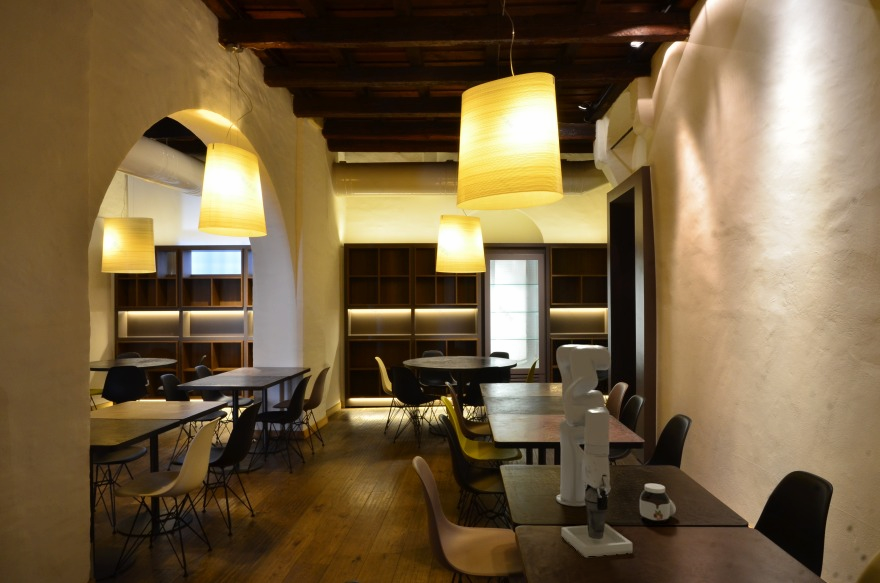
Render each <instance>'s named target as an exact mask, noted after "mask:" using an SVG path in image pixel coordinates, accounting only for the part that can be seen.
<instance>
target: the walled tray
mask: <svg viewBox="0 0 880 583" xmlns="http://www.w3.org/2000/svg"><path fill="white" fill-rule="evenodd" d="M561 536H562V537H563V538H564V540H565V542H567V543H568V542H569V543H570V544H571V545H572V546H573V547H574V548H575V549H576V551H577V550H578V551H579V552H580V553H581V554H582V555H583V556H584V557H585V558H589V557H588V556H596V557H604V556H603V555H607V556H617V555H616V554H618V555H626V553H628V554H633V547H634V546H633V545H634V544H633V542H632V541H631V540H629V539H627V538H626V537H625V536H623V535H622V534H621V533H619V532H618V531H617V530H615V528H613V527H611V525H609V524H608V523H605V525H604V533H603V538H602V539H593V538H590V537H589V536H588V526H587V524H586V525H575V526H574V525H573V526H566V527H565V526H564V527H563V526H562V527H561ZM562 537H561V538H562ZM563 538H562V539H563ZM569 543H568V544H569ZM570 544H569V545H570ZM571 545H570V546H571ZM572 546H571V547H572ZM573 547H572V548H573ZM574 548H573V549H574ZM575 549H574V550H575ZM578 551H577V552H578ZM579 552H578V553H579ZM580 553H579V554H580ZM581 554H580V555H581ZM582 555H581V556H582ZM583 556H582V557H583ZM584 557H583V558H584Z"/></svg>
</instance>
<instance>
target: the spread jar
mask: <svg viewBox="0 0 880 583" xmlns="http://www.w3.org/2000/svg"><path fill="white" fill-rule="evenodd" d="M639 496H640V497H639V514H640V516H641V517H642V518H643V519H644V520H645V521H648V522H649V521H650V522H649V523H653V522H656V523H655V524H662V523H661V522H663V523H664V522H667V520H668V519H669V518H670V517H672V516H673V515H674V514H675V513H676V511H677V510H676V509H677V507H676V504H675V503H674V501H672V500H671V499H670V497H669V496H668V494H667V493H666V486H664V485H662V484H659V483H650V482H649V483H645V484H644V490H643V491H642V492H641V494H640V495H639Z"/></svg>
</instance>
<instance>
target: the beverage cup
mask: <svg viewBox="0 0 880 583" xmlns="http://www.w3.org/2000/svg"><path fill="white" fill-rule="evenodd" d="M603 490H604V489H601V492H602V491H603ZM597 497H599V496H598V491H597V489H595V488H593V487H590V488H589V489H588V490H587V491H586V494H585V498H584V499H585V511H586V512H585V513H586V523H587V524H586V525H587V526H588V536H589V537H590V538H593V539H602V538H603V533H604V525H605V524H606V514H607V513H606V512H607V510H598V509H597ZM608 502H609V499H607V503H608Z"/></svg>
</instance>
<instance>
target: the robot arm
mask: <svg viewBox="0 0 880 583" xmlns="http://www.w3.org/2000/svg"><path fill="white" fill-rule="evenodd" d="M555 354H556V364H557V366H558V367H557V368H558V369H559V372H560V376H561V400H562V401H561V403H562V404H561V405H562V410H563V412H564V419H562V420H560V422H559V423H558V436H559V443H560V486H559V489H560V490H559V491H560V494H558V495H556V497H555V499H556V501H557V502H558V503H559V504H561V505H565V506H568V507H584V506H585V507H586V505H585V499H584V498H585V494H586V491H587V490H588V489H589V488H590V487H593V488H595V489H597V491H598V496H599V497H597V509H598V510H606V511H607V510H608V502H607V499H608V498H609V494H610V492H611V490H612V487H611V485H610V478H611V477H610V460H609V455H610V418H611V416H610V414H611V413H610V411H609V410H608V408H607V406H606V403H605V402H606V400H605V397H604V395H603V393H602V392H601V391H600V390H596V388H597V386H598V383H599V378H598V373H597V371H607V370H609V368H610V367H611V364H612V360H611V358H612V357H611V353H610V352H609V350H608V348H607V347H605V346H603V345H597V344H595V345H594V344H563V345H560V346H559V347H558V348H557V349H556V353H555ZM580 445H584V447H583V449H584V450H583V449H582V447H581V446H580ZM601 489H603V491H602V492H601ZM608 500H609V499H608Z"/></svg>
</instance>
